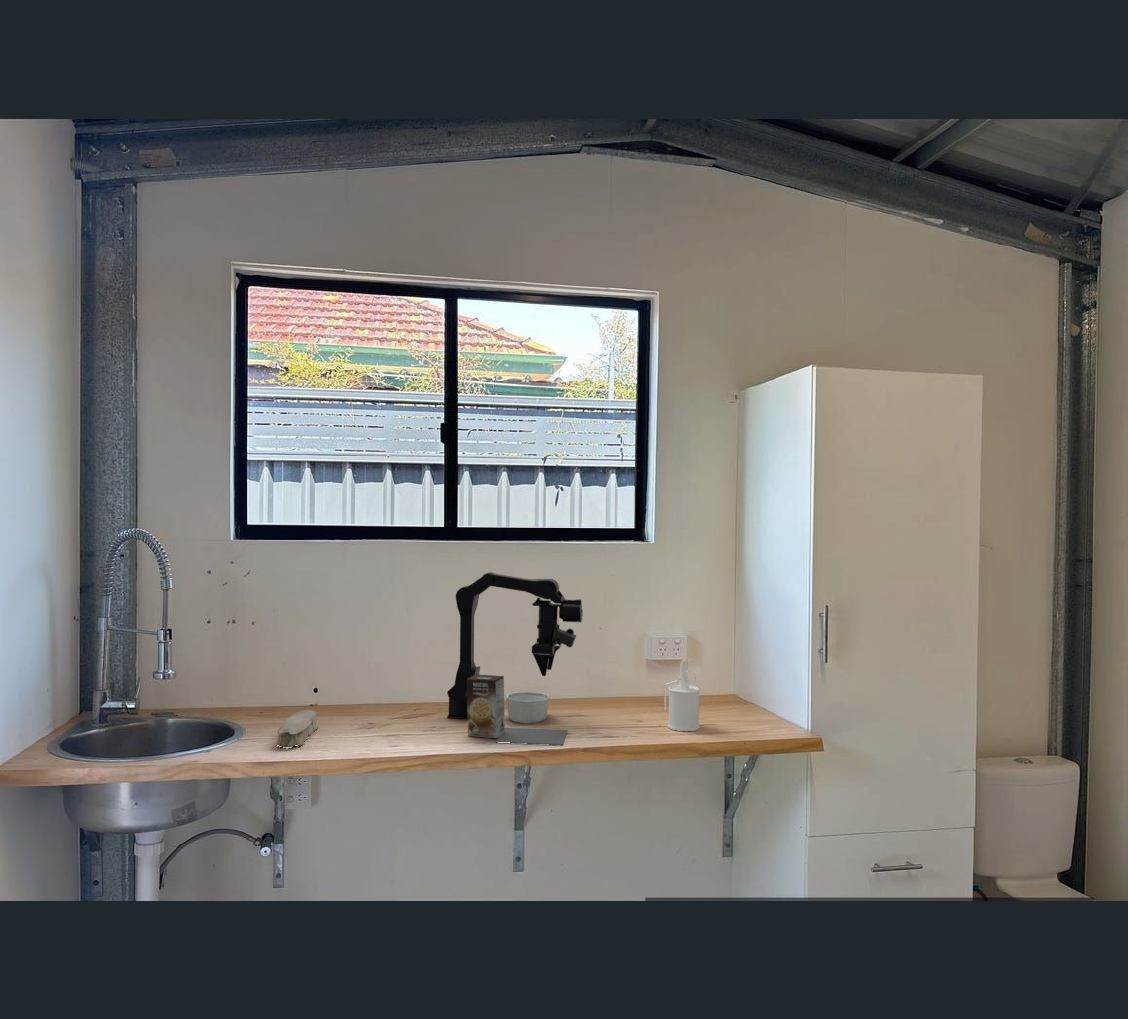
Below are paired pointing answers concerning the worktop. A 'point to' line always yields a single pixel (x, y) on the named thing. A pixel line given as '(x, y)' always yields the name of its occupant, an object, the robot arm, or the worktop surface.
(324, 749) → the worktop surface
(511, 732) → the mat
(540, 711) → the ramekin
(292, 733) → the shoe brush
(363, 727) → the worktop surface
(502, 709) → the coffee box
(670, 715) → the oil can
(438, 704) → the worktop surface
